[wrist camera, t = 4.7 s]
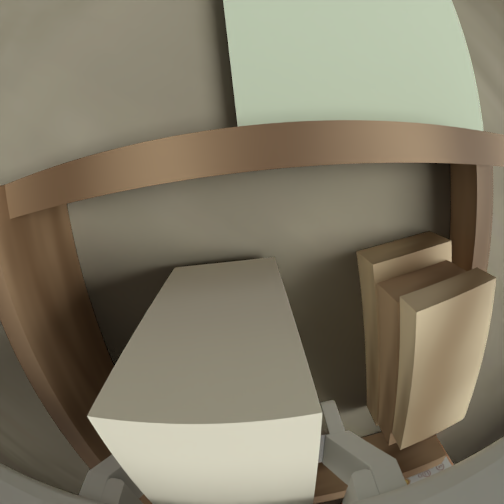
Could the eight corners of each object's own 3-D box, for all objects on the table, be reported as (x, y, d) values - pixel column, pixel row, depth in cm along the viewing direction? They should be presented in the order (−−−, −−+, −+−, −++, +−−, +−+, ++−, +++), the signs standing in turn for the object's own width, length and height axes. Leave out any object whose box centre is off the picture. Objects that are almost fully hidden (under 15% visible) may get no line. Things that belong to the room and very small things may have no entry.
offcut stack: (427, 230, 12) (497, 262, 8) (421, 381, 15) (458, 433, 10) (354, 250, 13) (411, 297, 8) (365, 403, 15) (393, 464, 11)
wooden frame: (464, 138, 11) (538, 139, 6) (420, 427, 16) (446, 473, 12) (44, 181, 11) (-32, 196, 6) (149, 463, 16) (137, 516, 12)
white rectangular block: (274, 256, 12) (322, 412, 4) (286, 425, 14) (304, 550, 7) (174, 267, 12) (87, 416, 4) (215, 431, 14) (206, 554, 7)
